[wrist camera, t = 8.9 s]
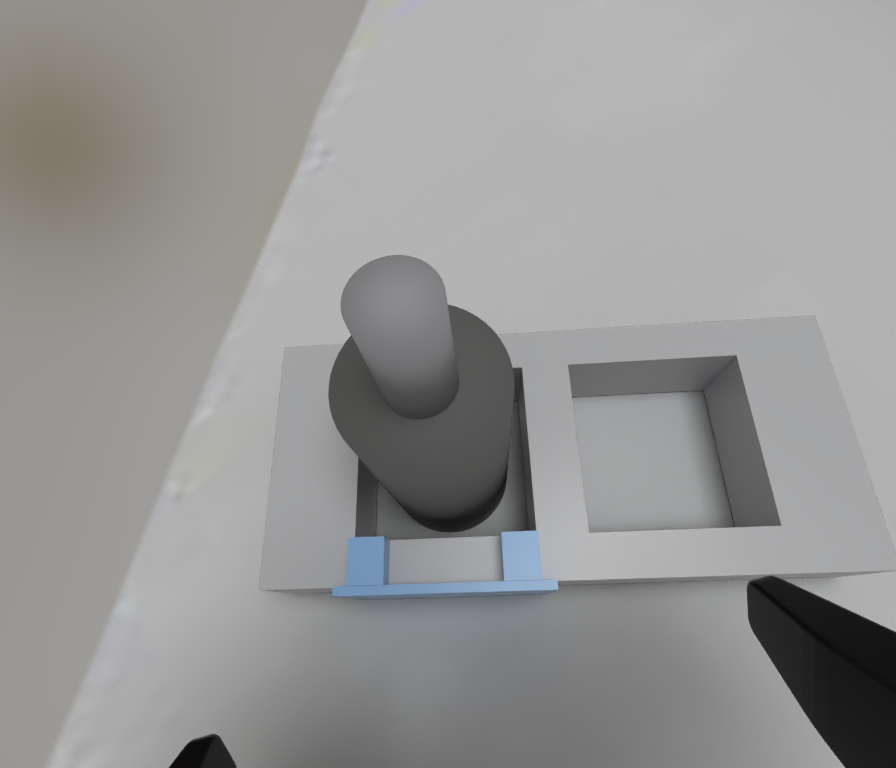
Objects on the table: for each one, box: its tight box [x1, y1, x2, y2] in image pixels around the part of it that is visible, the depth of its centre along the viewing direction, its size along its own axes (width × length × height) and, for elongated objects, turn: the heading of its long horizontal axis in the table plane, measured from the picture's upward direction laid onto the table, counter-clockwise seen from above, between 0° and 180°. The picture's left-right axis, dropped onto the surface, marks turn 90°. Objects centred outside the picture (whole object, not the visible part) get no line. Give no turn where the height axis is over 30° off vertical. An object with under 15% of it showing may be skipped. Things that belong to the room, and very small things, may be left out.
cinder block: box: [259, 315, 896, 599], centre depth 21 cm, size 10×21×4 cm, turn 91°
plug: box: [328, 255, 514, 532], centre depth 17 cm, size 5×5×14 cm
